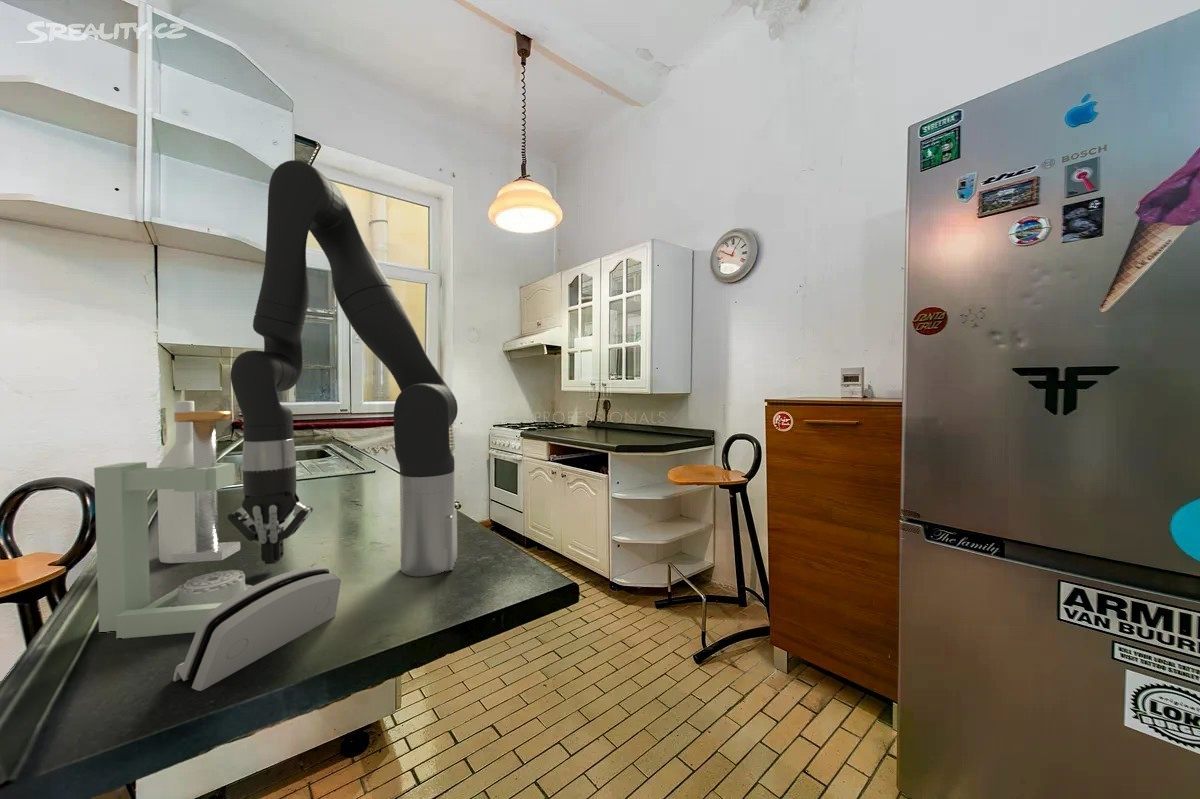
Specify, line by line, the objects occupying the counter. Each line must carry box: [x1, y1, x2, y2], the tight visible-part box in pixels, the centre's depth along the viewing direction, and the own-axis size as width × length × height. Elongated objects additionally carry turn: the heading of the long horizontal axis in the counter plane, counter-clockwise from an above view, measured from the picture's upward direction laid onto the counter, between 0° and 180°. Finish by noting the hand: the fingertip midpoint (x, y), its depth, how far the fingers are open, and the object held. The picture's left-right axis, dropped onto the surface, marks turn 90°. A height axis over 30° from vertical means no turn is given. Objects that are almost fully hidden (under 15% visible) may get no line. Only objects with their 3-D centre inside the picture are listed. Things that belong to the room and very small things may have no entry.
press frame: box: [93, 461, 236, 639], centre depth 64 cm, size 20×14×22 cm
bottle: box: [156, 400, 196, 564], centre depth 85 cm, size 8×8×30 cm
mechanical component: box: [168, 569, 254, 607], centre depth 65 cm, size 10×4×10 cm
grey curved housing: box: [172, 565, 342, 692], centre depth 55 cm, size 17×5×10 cm, turn 162°
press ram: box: [171, 410, 241, 564], centre depth 61 cm, size 6×6×20 cm
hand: (272, 562), depth 78 cm, fingers closed
